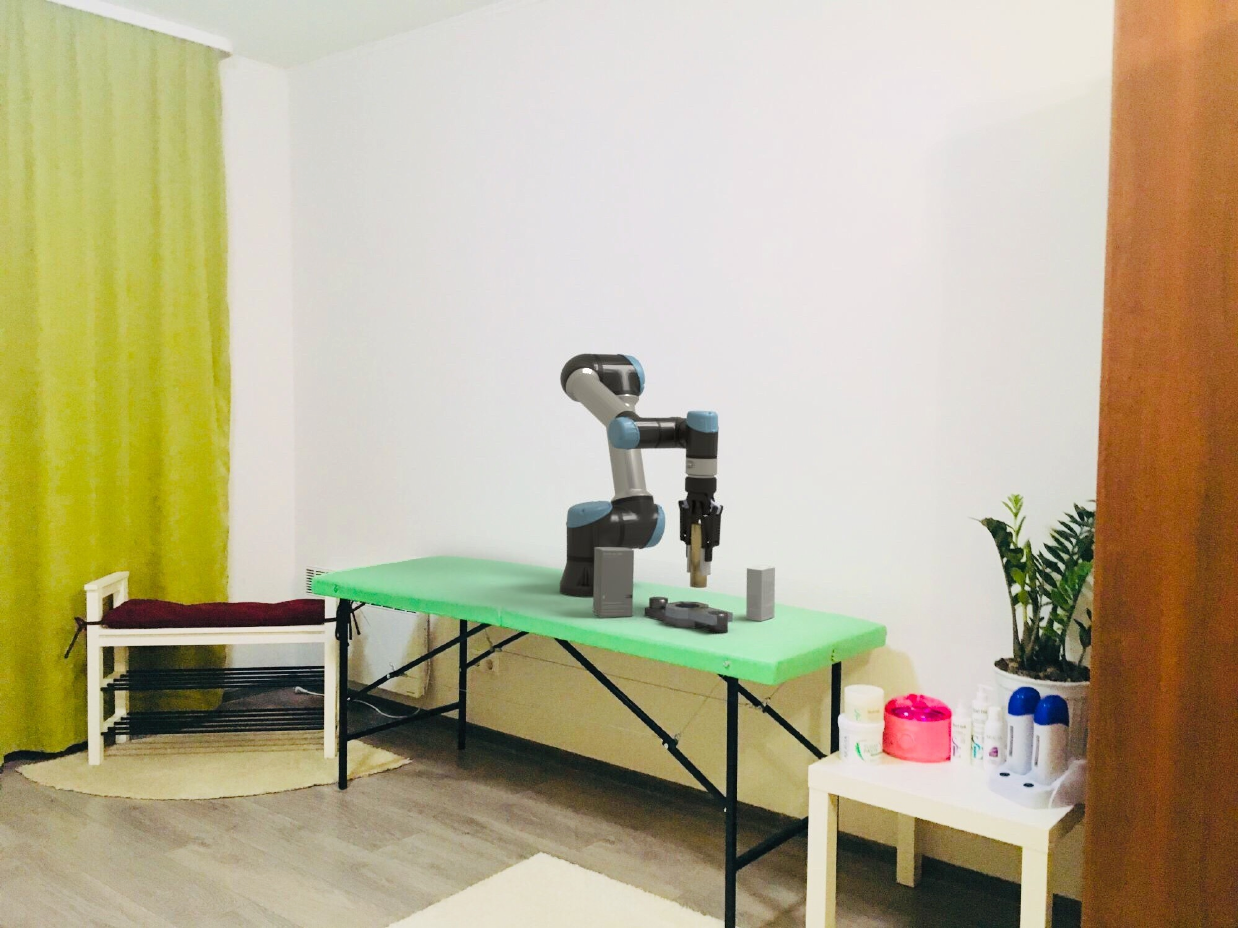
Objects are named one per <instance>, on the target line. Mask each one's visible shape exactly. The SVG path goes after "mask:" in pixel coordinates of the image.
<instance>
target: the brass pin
mask: <svg viewBox="0 0 1238 928" xmlns="http://www.w3.org/2000/svg"><path fill="white" fill-rule="evenodd" d="M701 546H703V540H702V530H701V522H699V523H692V524H691V563H690V573H689V587H690V588H695V589H703V588H707V585H708V584H707V583H708V575H704V576H701V575H700V553H701Z"/></svg>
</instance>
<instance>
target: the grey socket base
mask: <svg viewBox="0 0 1238 928" xmlns="http://www.w3.org/2000/svg"><path fill="white" fill-rule="evenodd" d="M648 600H649V602H648V606H645V607H644V617H648V618H651V619H655V620H658V621H661V622H665V625H667V626H670V627H674V628H686V629H690V628H691V629H696V628H702V627H703V628H704V627H707V632H708V633H711V634H719V635H720V634H726V633H728V631H729V630H728V629H729V623H733V615H734V614H733V612H731V611H728V610H724V609H719V608H715V607H712V606H710V605H709V604H708V603H703V602H699V601H690V600H688V601H685V600H683V601H681V600H680V601H679V600H678V601H673V602H669V598H668V597H665V596H651V597H649V598H648Z"/></svg>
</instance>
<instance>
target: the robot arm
mask: <svg viewBox="0 0 1238 928" xmlns="http://www.w3.org/2000/svg"><path fill="white" fill-rule="evenodd" d="M559 380H560V385H561V387H562V390H563V392H564V394H565V395H567V397H568V398H569V399H571V400H572V401H574V402H576V403H580V404H581V405H582V406H583V407H584V408H586V409H587V410H588V412H590V414H592V415H593V417H595V418H596V419H597V420H598V421H599V422H600V423H601V424H602V425H603V426H604V427H605V430H606V438H607V439H606V440H607V443H608V444H607V445H608V452H609V458H610V459H609V460H610V467H611V474H612V481H613V488H614V496H613V497H612V498H611V500H610V501H607V500H597V501H594V500H593V501H585V502H580V503H576V504H573V505H571V506H570V507H569V508H568V510H567V515H566V522H565V526H566V563H565V566H564V569H563V573H562V575H561V576H562V577H561V580H560V582H559V593H561V594H563V595H567V596H574V597H584V598H585V597H589V598H591V597H593V594H594V554H595V551H594V548H595V547H624V548H629V549H632V550H636V549H637V550H643V549H649V548H653V547H656V546H657V545H658V544H659V543H660V542H661V540H662V539H663V536H664V533H665V529H666V514H665V511H664V508H663V507H662V505H660V504H657V503H655V502H654V501H655V500H654V499H655V498H654V495H653V494H652V493H651V492H650V491H648V490H647V485H646V484H647V483H646V477H645V469H644V463H643V457H642V450H644V449H645V450H646V449H652V450H653V449H655V450H656V449H659V450H661V449H684V450H685V470H684V471H685V472H684V473H685V474H686V475H687V476H686V477H685V478H684V491H685V492H686V493H687V494H686V498H684V499H680V500H678V502H677V504H678V509H679V541H681V542H684V544H685V546H686V547H685V548H686V549H685V556H686V573H689V574H690V563H691V524H692V523H701V530H702V540H703V546H701V553H700V575H701V576H704V575H707V576H710V575H711V574H712V573H711V570H712V569H711V567H712V566H711V565H712V561H713V549H714V548H716V547H719V546H720V544H721V543H720V542H721V527H722V525H721V524H722V523H721V522H722V514H723V510H724V505H722V504H718V503H717V502H716V499H715V496H714V495H715V493H716V492H717V485H718V479H717V477H716V475H718V451H719V449H718V447H719V429H720V428H719V415H718V413H717V412H716V411H712V410H689V411H688V412H687V413H686V418H685V417H681V416H670V417H669V416H668V417H641V416H640V415H638V414H637V413H636V405H637V403H638V402H639V401H640V396H641V395H642V394H643V392H644V390H645V384H646V376H645V371H644V368H643V366H642V364H641V362H640V361H639V360H638V359H637V358H636V357H635V356H633V355H625V354H623V353H617V354H611V353H610V354H609V353H608V354H606V353H581V354H577V355H575V356H573V357H571V358H570V359H569V360H567V362H565V364H564V365H563V367H562V370H561V372H560V378H559Z"/></svg>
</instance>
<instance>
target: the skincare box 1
mask: <svg viewBox="0 0 1238 928" xmlns="http://www.w3.org/2000/svg"><path fill="white" fill-rule="evenodd" d="M594 551H595V554H594V594H593V599H592V601H593V602H592V604H593V605H592V612H593V613H594V615H595V614H596V615H597V616H598V617H599V618H601V619H605V618H607V619H608V618H620V617H632V616H633V606H634V605H633V603H634V572H635V571H634V567H635V566H634V565H635V560H634V559H635V549H629V548H624V547H595V548H594Z"/></svg>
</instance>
